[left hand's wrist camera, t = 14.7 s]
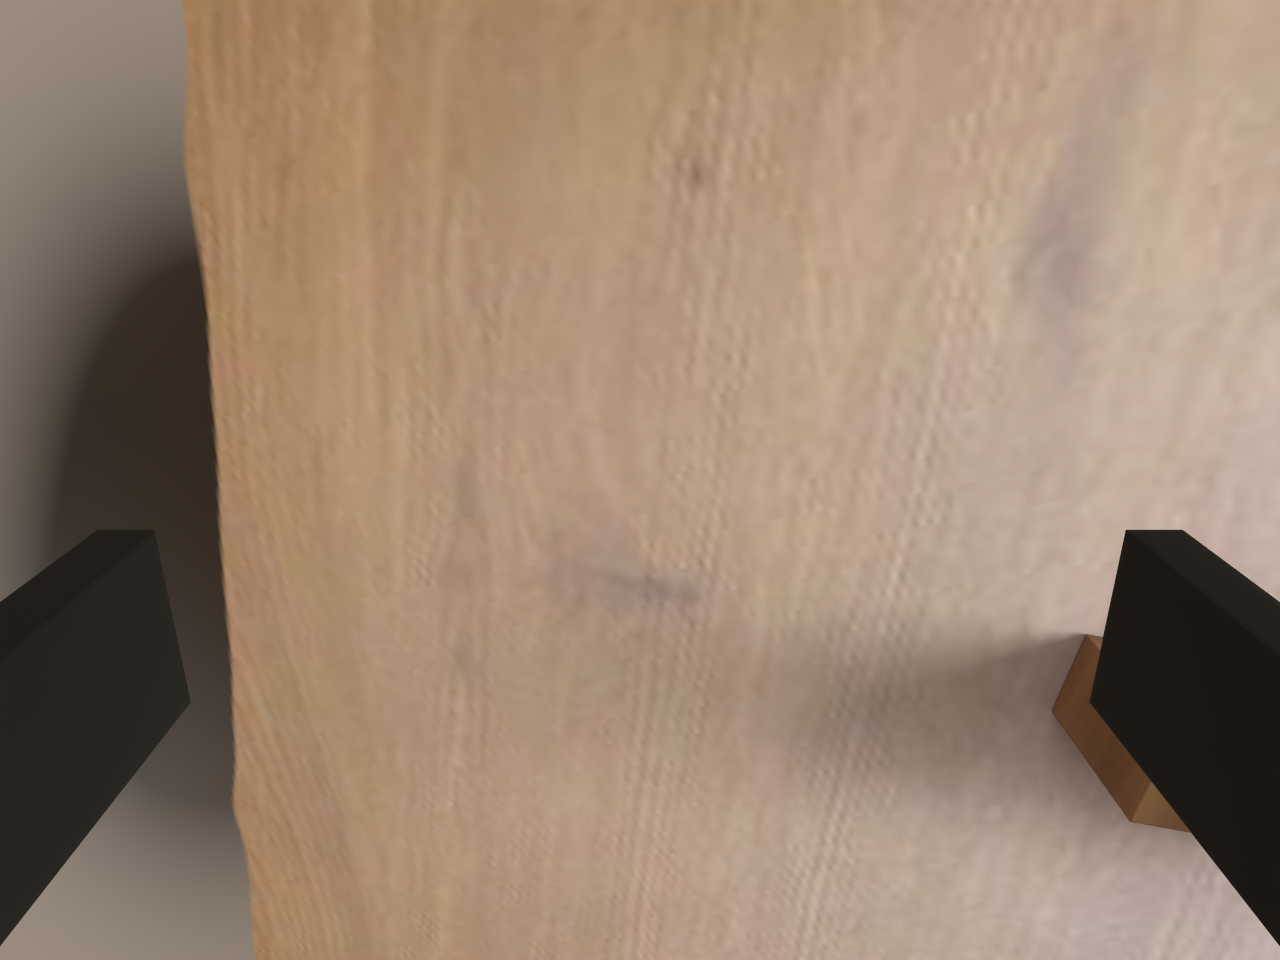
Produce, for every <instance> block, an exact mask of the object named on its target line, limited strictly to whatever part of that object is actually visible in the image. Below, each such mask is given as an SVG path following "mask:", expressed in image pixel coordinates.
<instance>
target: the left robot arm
mask: <svg viewBox="0 0 1280 960" xmlns="http://www.w3.org/2000/svg"><path fill="white" fill-rule="evenodd" d="M189 704H190V697H189V693H188V688H187V683H186V678H185V673H184V669H183V664H182V659H181V655H180V650H179V645H178V641H177V636H176V631H175V626H174V622H173V617H172V612H171V607H170V603H169V598H168V593H167V589H166V584H165V579H164V574H163V570H162V565H161V560H160V555H159V551H158V546H157V541H156V537H155V532H154V530H97V531H95V532H94V533H93V534H91V535H90V536H89V537H87V538H86V539H85V540H83V541H82V542H81V543H79V544H78V545H76V546H75V547H74V548H72V549H71V550H70V551H68V552H67V553H66V554H64V555H63V556H62V557H60V558H59V559H58V560H56V561H55V562H54V563H52V564H51V565H50V566H48V567H47V568H46V569H44V570H43V571H42V572H40V573H39V574H37V575H36V576H35V577H33V578H32V579H31V580H29V581H28V582H27V583H25V584H24V585H23V586H21V587H20V588H19V589H17V590H16V591H15V592H13V593H12V594H11V595H9V596H8V597H7V598H5V599H4V600H2V601H1V602H0V946H1V944H2V943H3V942H4V940H5V939H6V938H7V937H8V935H9V934H10V933H11V931H12V930H13V929H14V928H15V926H16V925H17V924H18V923H19V921H20V920H21V919H22V917H23V916H24V915H25V914H26V912H27V911H28V910H29V908H30V907H31V906H32V905H33V903H34V902H35V901H36V899H37V898H38V897H39V896H40V894H41V893H42V892H43V891H44V889H45V888H46V887H47V885H48V884H49V883H50V882H51V880H52V879H53V878H54V876H55V875H56V874H57V873H58V871H59V870H60V869H61V867H62V866H63V865H64V864H65V862H66V861H67V860H68V858H69V857H70V856H71V855H72V853H73V852H74V851H75V850H76V848H77V847H78V846H79V844H80V843H81V842H82V841H83V839H84V838H85V837H86V835H87V834H88V833H89V832H90V830H91V829H92V828H93V827H94V825H95V824H96V823H97V821H98V820H99V819H100V818H101V816H102V815H103V814H104V812H105V811H106V810H107V809H108V807H109V806H110V805H111V803H112V802H113V801H114V800H115V798H116V797H117V796H118V795H119V793H120V792H121V791H122V789H123V788H124V787H125V785H126V784H127V783H128V782H129V780H130V779H131V778H132V777H133V775H134V774H135V773H136V771H137V770H138V769H139V768H140V766H141V765H142V764H143V762H144V761H145V760H146V759H147V757H148V756H149V755H150V754H151V752H152V751H153V750H154V748H155V747H156V746H157V745H158V743H159V742H160V741H161V739H162V738H163V737H164V736H165V734H166V733H167V732H168V730H169V729H170V728H171V727H172V725H173V724H174V723H175V721H176V720H177V719H178V718H179V716H180V715H181V714H182V713H183V711H184V710H185V709H186V707H187V706H188V705H189ZM1090 704H1091V705H1092V706H1093V707H1094V709H1095V710H1096V711H1097V713H1098V714H1099V715H1100V716H1101V718H1102V719H1103V720H1104V722H1105V723H1106V724H1107V725H1108V727H1109V728H1110V729H1111V731H1112V732H1113V733H1114V734H1115V736H1116V737H1117V738H1118V739H1119V741H1120V742H1121V743H1122V745H1123V746H1124V747H1125V748H1126V750H1127V751H1128V752H1129V754H1130V755H1131V756H1132V757H1133V759H1134V760H1135V761H1136V763H1137V764H1138V765H1139V766H1140V768H1141V769H1142V770H1143V771H1144V773H1145V774H1146V775H1147V777H1148V778H1149V779H1150V780H1151V782H1152V783H1153V784H1154V786H1155V787H1156V788H1157V789H1158V791H1159V792H1160V793H1161V795H1162V796H1163V797H1164V798H1165V800H1166V801H1167V802H1168V803H1169V805H1170V806H1171V807H1172V809H1173V810H1174V811H1175V812H1176V814H1177V815H1178V816H1179V818H1180V819H1181V820H1182V821H1183V823H1184V824H1185V825H1186V827H1187V828H1188V829H1189V830H1190V832H1191V833H1192V834H1193V835H1194V837H1195V838H1196V839H1197V841H1198V842H1199V843H1200V844H1201V846H1202V847H1203V848H1204V850H1205V851H1206V852H1207V853H1208V855H1209V856H1210V857H1211V859H1212V860H1213V861H1214V862H1215V864H1216V865H1217V866H1218V867H1219V869H1220V870H1221V871H1222V873H1223V874H1224V875H1225V876H1226V878H1227V879H1228V880H1229V882H1230V883H1231V884H1232V885H1233V887H1234V888H1235V889H1236V891H1237V892H1238V893H1239V894H1240V896H1241V897H1242V898H1243V899H1244V901H1245V902H1246V903H1247V905H1248V906H1249V907H1250V908H1251V910H1252V911H1253V912H1254V914H1255V915H1256V916H1257V917H1258V919H1259V920H1260V921H1261V923H1262V924H1263V925H1264V926H1265V928H1266V929H1267V930H1268V932H1269V933H1270V934H1271V935H1272V937H1273V938H1274V939H1275V940H1276V942H1277V943H1278V944H1279V946H1280V602H1279V601H1278V600H1276V599H1275V598H1274V597H1272V596H1271V595H1269V594H1268V593H1267V592H1265V591H1264V590H1263V589H1261V588H1260V587H1259V586H1257V585H1256V584H1255V583H1253V582H1252V581H1251V580H1249V579H1248V578H1247V577H1245V576H1244V575H1243V574H1241V573H1240V572H1239V571H1237V570H1236V569H1234V568H1233V567H1232V566H1230V565H1229V564H1228V563H1226V562H1225V561H1224V560H1222V559H1221V558H1220V557H1218V556H1217V555H1216V554H1214V553H1213V552H1212V551H1210V550H1209V549H1208V548H1206V547H1205V546H1204V545H1202V544H1201V543H1199V542H1198V541H1197V540H1195V539H1194V538H1193V537H1191V536H1190V535H1189V534H1187V533H1186V532H1185V531H1183V530H1126V532H1125V537H1124V541H1123V546H1122V551H1121V555H1120V560H1119V565H1118V570H1117V574H1116V579H1115V584H1114V588H1113V593H1112V598H1111V603H1110V607H1109V612H1108V617H1107V622H1106V626H1105V631H1104V636H1103V640H1102V645H1101V650H1100V655H1099V659H1098V664H1097V669H1096V673H1095V678H1094V683H1093V688H1092V692H1091V697H1090Z"/></svg>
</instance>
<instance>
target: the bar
mask: <svg viewBox="0 0 1280 960" xmlns="http://www.w3.org/2000/svg"><path fill="white" fill-rule="evenodd" d="M1102 640H1103V637H1098V636H1093V635H1088V634H1086V636H1085V638H1084V640H1083V643H1082V645H1081V647H1080V649H1079V651H1078V654H1077V656H1076V658H1075V660H1074V663H1073V665H1072V667H1071V669H1070V671H1069V674H1068V676H1067V678H1066V680H1065V683H1064V685H1063V687H1062V689H1061V691H1060V694H1059V696H1058V698H1057V700H1056V703H1055V705H1054V707H1053V709H1052V712H1053V713H1054V715H1055V716H1056V718H1057V719H1058V721H1059V722H1060V723H1061V725H1062V726H1063V728H1064V729H1065V730H1066V732H1067V733H1068V735H1069V736H1070V738H1071V739H1072V740H1073V742H1074V743H1075V745H1076V746H1077V747H1078V749H1079V750H1080V752H1081V753H1082V755H1083V756H1084V757H1085V759H1086V760H1087V762H1088V763H1089V764H1090V766H1091V767H1092V769H1093V770H1094V772H1095V773H1096V774H1097V776H1098V777H1099V779H1100V780H1101V781H1102V783H1103V784H1104V786H1105V787H1106V789H1107V790H1108V791H1109V793H1110V794H1111V796H1112V797H1113V798H1114V800H1115V801H1116V803H1117V804H1118V806H1119V807H1120V808H1121V810H1122V811H1123V813H1124V814H1125V815H1126V817H1127V818H1128V820H1129V821H1130V822H1135V823H1140V824H1146V825H1151V826H1157V827H1163V828H1168V829H1174V830H1179V831H1185V832H1190V830H1189V829H1188V828H1187V827H1186V825H1185V824H1184V823H1183V821H1182V820H1181V819H1180V818H1179V816H1178V815H1177V814H1176V812H1175V811H1174V810H1173V809H1172V807H1171V806H1170V805H1169V803H1168V802H1167V801H1166V800H1165V798H1164V797H1163V796H1162V795H1161V793H1160V792H1159V791H1158V789H1157V788H1156V787H1155V786H1154V784H1153V783H1152V782H1151V780H1150V779H1149V778H1148V777H1147V775H1146V774H1145V773H1144V771H1143V770H1142V769H1141V768H1140V766H1139V765H1138V764H1137V763H1136V761H1135V760H1134V759H1133V757H1132V756H1131V755H1130V754H1129V752H1128V751H1127V750H1126V748H1125V747H1124V746H1123V745H1122V743H1121V742H1120V741H1119V739H1118V738H1117V737H1116V736H1115V734H1114V733H1113V732H1112V731H1111V729H1110V728H1109V727H1108V725H1107V724H1106V723H1105V722H1104V720H1103V719H1102V718H1101V716H1100V715H1099V714H1098V713H1097V711H1096V710H1095V709H1094V707H1093V706H1092V705H1091V704H1090V697H1091V692H1092V688H1093V683H1094V678H1095V673H1096V669H1097V664H1098V659H1099V655H1100V650H1101V645H1102Z"/></svg>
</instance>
